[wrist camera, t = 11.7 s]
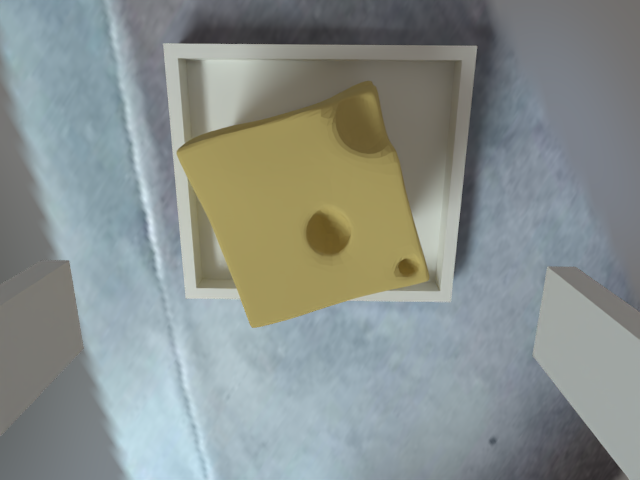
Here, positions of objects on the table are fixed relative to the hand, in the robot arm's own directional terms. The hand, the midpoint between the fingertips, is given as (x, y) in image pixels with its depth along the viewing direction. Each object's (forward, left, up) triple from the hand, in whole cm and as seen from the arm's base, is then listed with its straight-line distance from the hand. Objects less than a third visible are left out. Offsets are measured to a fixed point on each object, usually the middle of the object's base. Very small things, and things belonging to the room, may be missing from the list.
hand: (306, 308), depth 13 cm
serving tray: (0, 0, -20) cm, 21 cm away
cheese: (0, 0, -20) cm, 20 cm away
